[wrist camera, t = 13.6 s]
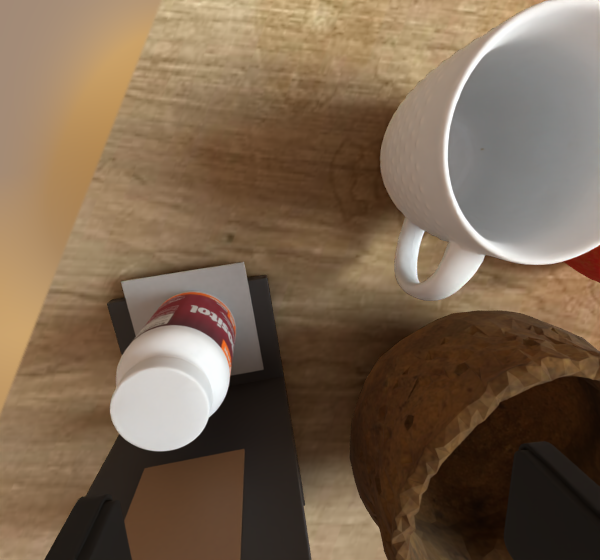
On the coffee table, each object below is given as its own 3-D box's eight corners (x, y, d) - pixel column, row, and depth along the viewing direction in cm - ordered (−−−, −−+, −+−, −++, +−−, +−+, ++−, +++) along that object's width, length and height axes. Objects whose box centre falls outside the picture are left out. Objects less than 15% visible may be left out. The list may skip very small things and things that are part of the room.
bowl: (526, 256, 32) (751, 319, 17) (530, 440, 37) (706, 606, 22) (310, 304, 30) (360, 414, 16) (346, 486, 36) (407, 693, 21)
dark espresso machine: (105, 280, 28) (-219, 495, 9) (263, 255, 29) (280, 401, 10) (175, 523, 34) (75, 958, 15) (303, 497, 35) (361, 874, 16)
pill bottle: (252, 336, 29) (250, 424, 19) (187, 378, 30) (149, 487, 19) (204, 272, 28) (173, 328, 17) (136, 317, 28) (63, 400, 17)
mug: (438, 292, 31) (559, 365, 19) (318, 250, 29) (364, 303, 17) (519, 114, 28) (727, 60, 16) (391, 53, 26) (514, -63, 14)
